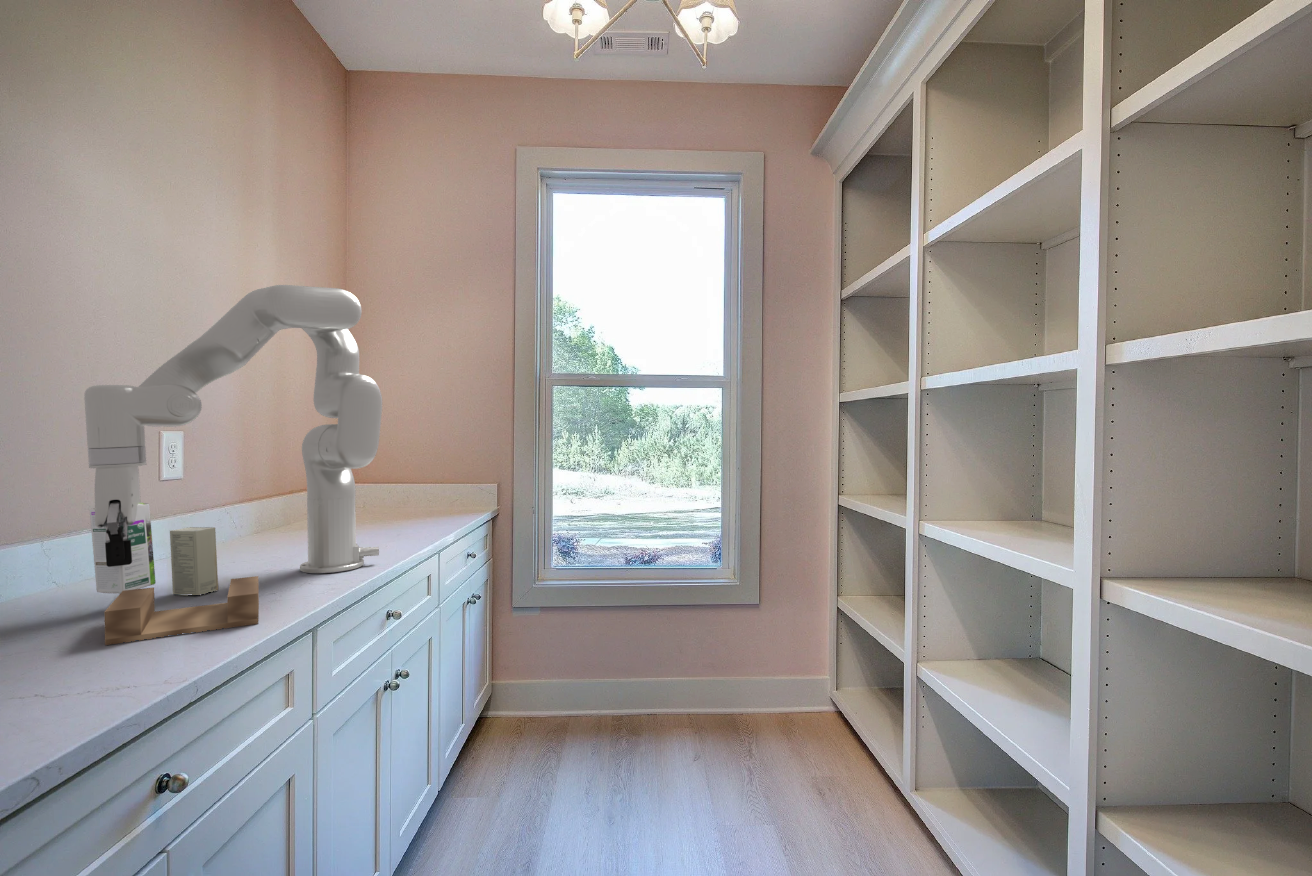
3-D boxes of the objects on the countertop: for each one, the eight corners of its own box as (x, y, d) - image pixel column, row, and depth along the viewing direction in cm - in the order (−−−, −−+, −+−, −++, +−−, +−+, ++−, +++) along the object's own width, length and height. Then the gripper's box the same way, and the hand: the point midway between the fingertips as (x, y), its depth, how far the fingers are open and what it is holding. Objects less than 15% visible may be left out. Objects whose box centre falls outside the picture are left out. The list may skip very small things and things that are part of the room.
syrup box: (123, 594, 106) (117, 507, 105) (94, 593, 107) (88, 507, 106) (156, 584, 111) (151, 502, 111) (128, 583, 112) (123, 502, 112)
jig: (258, 603, 112) (258, 576, 112) (258, 623, 100) (257, 593, 100) (123, 620, 102) (122, 590, 102) (105, 645, 90) (104, 611, 90)
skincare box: (219, 591, 121) (218, 527, 121) (197, 597, 117) (196, 530, 116) (192, 589, 122) (191, 526, 122) (169, 595, 118) (168, 529, 118)
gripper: (100, 456, 114) (106, 554, 114) (75, 462, 99) (83, 574, 100) (153, 454, 117) (158, 548, 118) (137, 459, 103) (144, 567, 103)
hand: (124, 559), depth 109 cm, fingers closed on syrup box, 7 cm apart
